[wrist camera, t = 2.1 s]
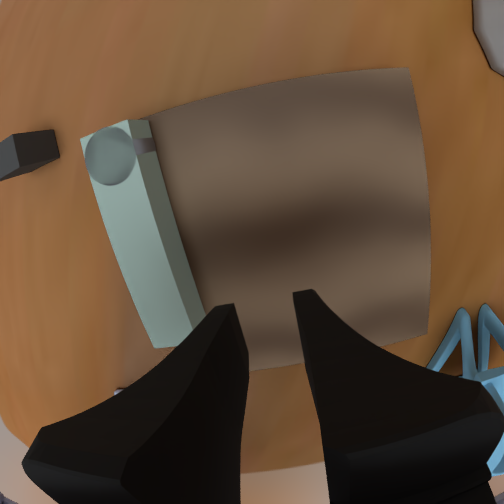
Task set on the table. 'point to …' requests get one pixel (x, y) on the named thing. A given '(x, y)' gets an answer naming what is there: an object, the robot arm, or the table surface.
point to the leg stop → (26, 152)
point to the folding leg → (143, 229)
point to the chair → (494, 380)
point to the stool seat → (304, 205)
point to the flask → (490, 30)
